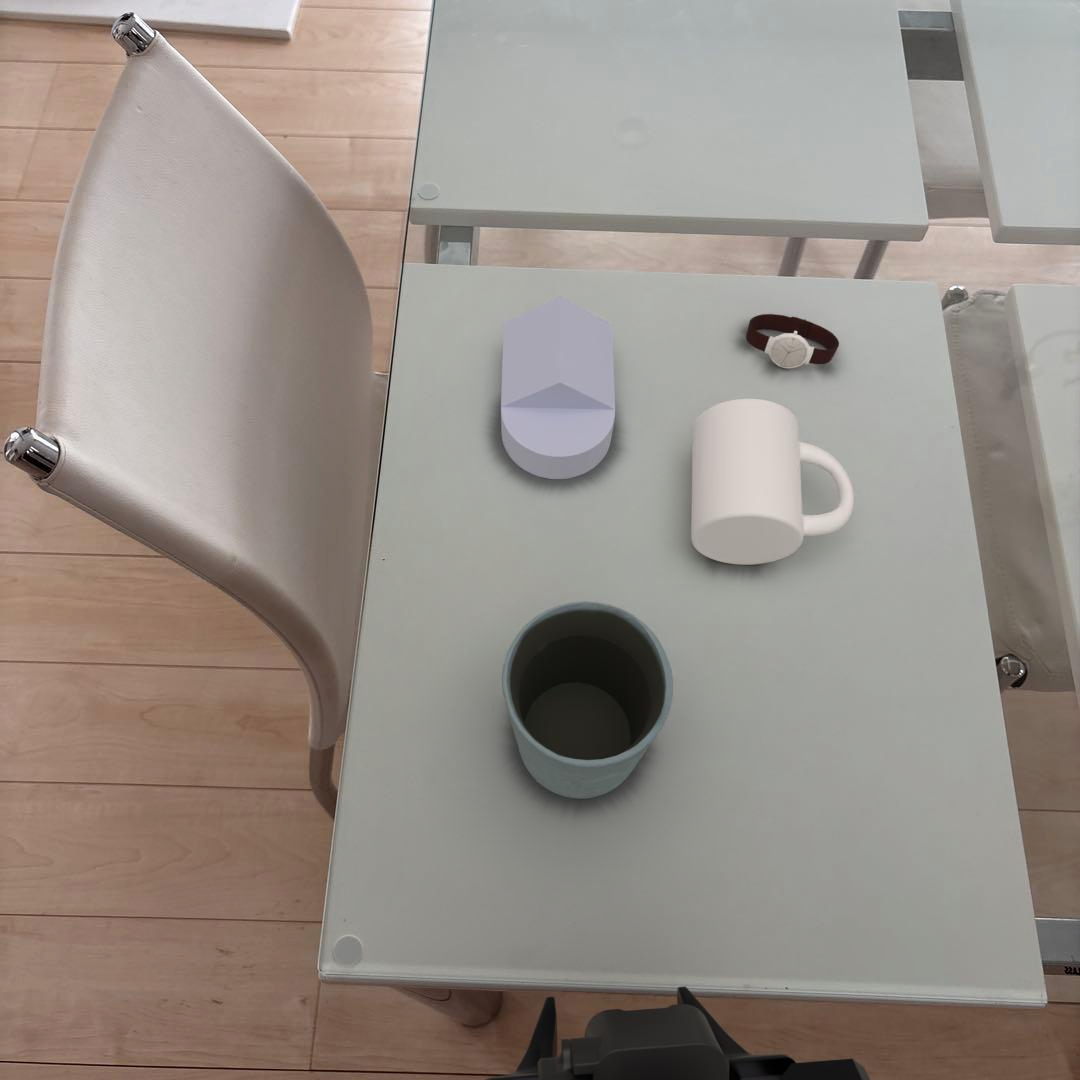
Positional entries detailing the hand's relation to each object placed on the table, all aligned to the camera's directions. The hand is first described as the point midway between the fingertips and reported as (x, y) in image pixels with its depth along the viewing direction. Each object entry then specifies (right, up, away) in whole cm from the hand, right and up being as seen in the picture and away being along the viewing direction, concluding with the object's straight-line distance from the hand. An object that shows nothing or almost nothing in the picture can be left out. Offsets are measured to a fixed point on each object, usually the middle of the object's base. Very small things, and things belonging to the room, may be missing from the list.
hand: (616, 998), depth 47 cm
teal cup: (-1, +9, +20) cm, 22 cm away
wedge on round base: (-2, +33, +32) cm, 46 cm away
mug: (+14, +25, +29) cm, 40 cm away
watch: (+18, +39, +36) cm, 56 cm away
